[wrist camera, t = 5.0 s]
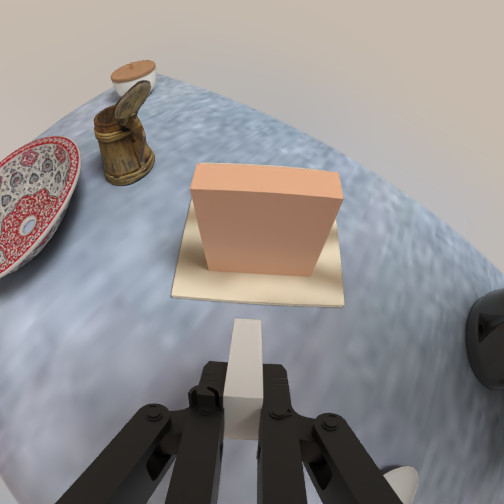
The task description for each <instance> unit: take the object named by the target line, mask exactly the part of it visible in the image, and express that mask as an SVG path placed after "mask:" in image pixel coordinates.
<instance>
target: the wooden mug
mask: <svg viewBox="0 0 504 504" xmlns="http://www.w3.org/2000/svg"><path fill="white" fill-rule="evenodd" d="M150 90H151V83H150V81H147V80H141V81H138V82H137V83H136V84H135V85H133V86H132V87H131V88H130V89H129V90H128V91H127V92H126V93H125V94H124V95H123V96H122V97H121V98H120V99H119V101H118V102H117V104H116V105H113V106H110V107H108V108H105V109H104V110H103V111H101V112H100V113H98V114H97V115H96V116H95V118H94V125H95V127H94V132H95V137H96V139H97V140H98V143H99V147H100V151H101V156H102V160H103V164H104V172H105V177H106V180H107V181H108V182H109V183H111V184H113V185H128V184H132V183H134V182H136V181H138V180H139V179H141V178H142V177H144V176H145V175H146V174H147V173H148V172H149V171H150V170H151V168H152V167H153V165H154V162H155V156H154V153H153V151H152V149H151V148H150V147H149V146H148V144H147V142H146V136H145V132H144V128H143V126H142V124H141V122H140V120H139V118H138V117H137V113H138V110H139V109H140V107H141V106H142V105H143V103H144V102H145V101H146V99H147V97H148V95H149V93H150Z"/></svg>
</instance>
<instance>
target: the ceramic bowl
mask: <svg viewBox="0 0 504 504" xmlns="http://www.w3.org/2000/svg"><path fill="white" fill-rule="evenodd" d="M80 170H81V154H80V150H79V148H78V146H77V145H76V143H75V142H74V141H72V140H71V139H69V138H67V137H63V136H50V137H45V138H41V139H38V140H35V141H33V142H30V143H28V144H26V145H24V146H23V147H21V148H19V149H18V150H16V151H14V152H13V153H11V154H10V155H9V156H7V157H6V158H5V159H4V160H2V161H1V162H0V278H2V277H3V276H5V275H7V274H10V273H12V272H14V271H16V270H18V269H19V268H21V267H23V266H24V265H25V264H27V263H28V262H29V261H31V260H32V259H33V258H34V257H35V256H36V255H37V254H38V253H39V252H40V251H41V250H42V249H43V248H44V247H45V246H46V244H47V243H48V242H49V240H50V239H51V238H52V236H53V235H54V233H55V232H56V230H57V228H58V227H59V225H60V223H61V221H62V219H63V217H64V215H65V213H66V210H67V208H68V204H69V201H70V198H71V196H72V193H73V191H74V189H75V187H76V184H77V181H78V178H79V174H80ZM30 220H34V221H35V224H34V227H33V229H32V230H31V231H30V232H28V233H26V234H25V233H24V232H23V229H24V227H25V225H26V224H27V223H28V222H29V221H30Z"/></svg>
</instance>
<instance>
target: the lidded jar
mask: <svg viewBox="0 0 504 504" xmlns="http://www.w3.org/2000/svg"><path fill="white" fill-rule="evenodd" d="M111 80H112V82H113V85H114V88H115V90H116V92H117V94H118V95H119V96H120V97H122V96H123V95H124V94H125V93H126V92H127V91H128V90H129V89H130V88H131V87H132V86H133V85H135V84H136V83H137V82H138V81H141V80H147V81H150V83H151V90H150V93H151V91H152V90H153V88H154V86H155V83H156V69H155V63H154V62H153V61H150V60H143V61H137V62H131V63H129V64H127V65H124V66H122V67H120V68H119V69H117V70H115V71H114V72H113V73H112V75H111ZM150 93H149V95H150ZM149 95H148V96H149Z"/></svg>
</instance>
